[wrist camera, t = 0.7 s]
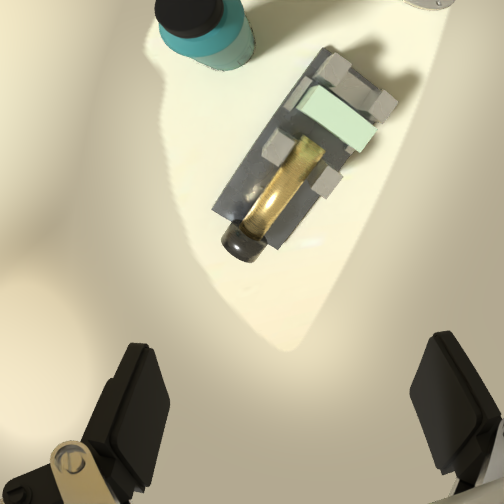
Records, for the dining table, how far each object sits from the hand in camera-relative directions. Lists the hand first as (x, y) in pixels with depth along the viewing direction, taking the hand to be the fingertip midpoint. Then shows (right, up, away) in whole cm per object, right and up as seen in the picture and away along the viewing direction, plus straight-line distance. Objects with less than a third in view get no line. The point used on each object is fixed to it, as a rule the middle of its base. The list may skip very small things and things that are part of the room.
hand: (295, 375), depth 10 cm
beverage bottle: (-4, +28, +22) cm, 35 cm away
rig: (+5, +17, +27) cm, 32 cm away
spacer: (+7, +20, +24) cm, 32 cm away
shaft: (+1, +11, +27) cm, 29 cm away
